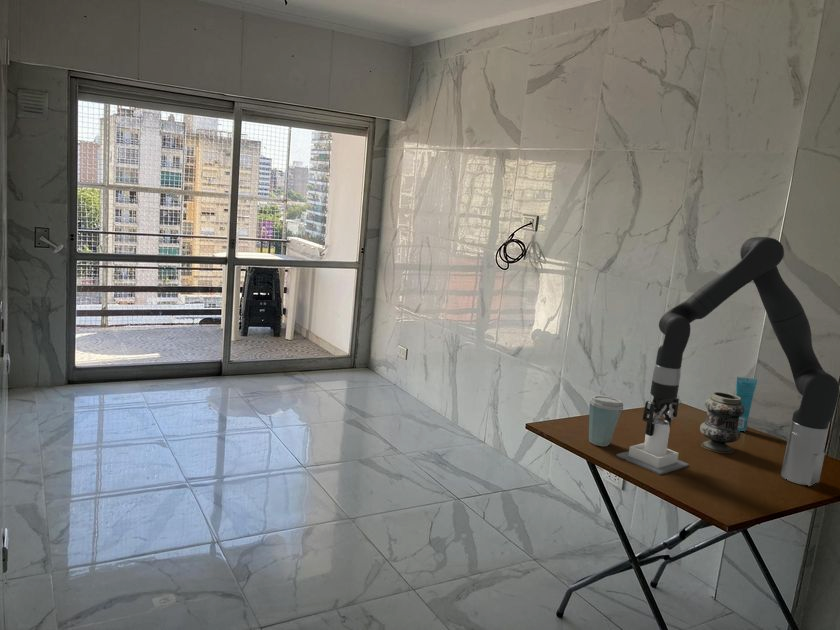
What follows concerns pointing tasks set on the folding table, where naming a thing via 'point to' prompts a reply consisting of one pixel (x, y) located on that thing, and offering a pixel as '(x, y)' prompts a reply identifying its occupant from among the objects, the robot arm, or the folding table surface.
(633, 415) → the folding table surface
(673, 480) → the folding table surface
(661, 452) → the can
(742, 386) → the tube
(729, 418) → the apothecary jar
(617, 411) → the disposable coffee cup
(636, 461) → the board
